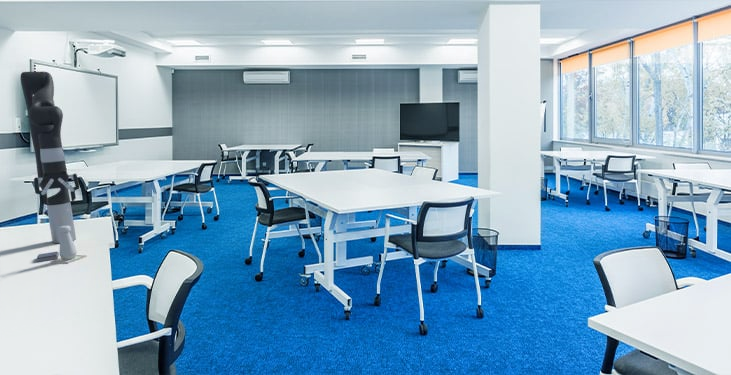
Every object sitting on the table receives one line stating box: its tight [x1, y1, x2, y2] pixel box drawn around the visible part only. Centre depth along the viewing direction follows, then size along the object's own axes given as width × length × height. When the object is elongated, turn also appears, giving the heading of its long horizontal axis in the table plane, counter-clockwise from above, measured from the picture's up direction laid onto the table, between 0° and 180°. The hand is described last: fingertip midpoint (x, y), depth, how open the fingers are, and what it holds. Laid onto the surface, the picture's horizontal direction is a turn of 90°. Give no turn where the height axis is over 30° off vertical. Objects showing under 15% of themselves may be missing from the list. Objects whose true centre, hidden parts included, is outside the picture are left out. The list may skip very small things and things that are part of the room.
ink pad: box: [35, 251, 60, 263], centre depth 194 cm, size 7×7×2 cm
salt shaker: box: [58, 226, 78, 260], centre depth 189 cm, size 6×6×13 cm
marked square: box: [50, 254, 87, 264], centre depth 191 cm, size 8×8×1 cm
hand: (59, 202), depth 187 cm, fingers open, 8 cm apart
